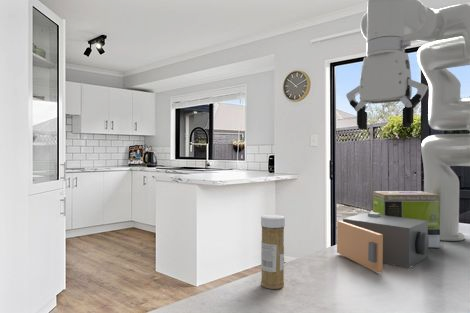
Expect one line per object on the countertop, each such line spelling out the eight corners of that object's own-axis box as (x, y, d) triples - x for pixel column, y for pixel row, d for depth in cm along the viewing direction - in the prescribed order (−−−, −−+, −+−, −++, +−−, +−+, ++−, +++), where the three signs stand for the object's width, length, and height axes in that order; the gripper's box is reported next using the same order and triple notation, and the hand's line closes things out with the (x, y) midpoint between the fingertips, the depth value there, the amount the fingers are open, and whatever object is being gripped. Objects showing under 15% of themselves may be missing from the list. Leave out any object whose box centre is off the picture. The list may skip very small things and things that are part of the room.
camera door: (340, 252, 92) (340, 220, 92) (382, 272, 77) (382, 234, 76) (334, 252, 91) (334, 221, 91) (375, 273, 76) (375, 235, 76)
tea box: (423, 240, 108) (423, 190, 108) (440, 249, 98) (441, 194, 98) (371, 239, 109) (372, 189, 109) (384, 247, 99) (384, 193, 99)
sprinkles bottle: (289, 286, 69) (289, 216, 69) (270, 291, 67) (271, 218, 67) (273, 279, 73) (274, 213, 73) (255, 284, 71) (256, 215, 70)
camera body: (364, 244, 102) (365, 209, 101) (433, 257, 89) (433, 218, 89) (342, 254, 92) (343, 215, 92) (415, 269, 80) (416, 225, 80)
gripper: (433, 46, 76) (432, 127, 77) (355, 60, 88) (354, 130, 89) (421, 37, 71) (420, 125, 71) (340, 53, 83) (339, 128, 83)
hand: (383, 128), depth 80 cm, fingers open, 9 cm apart
